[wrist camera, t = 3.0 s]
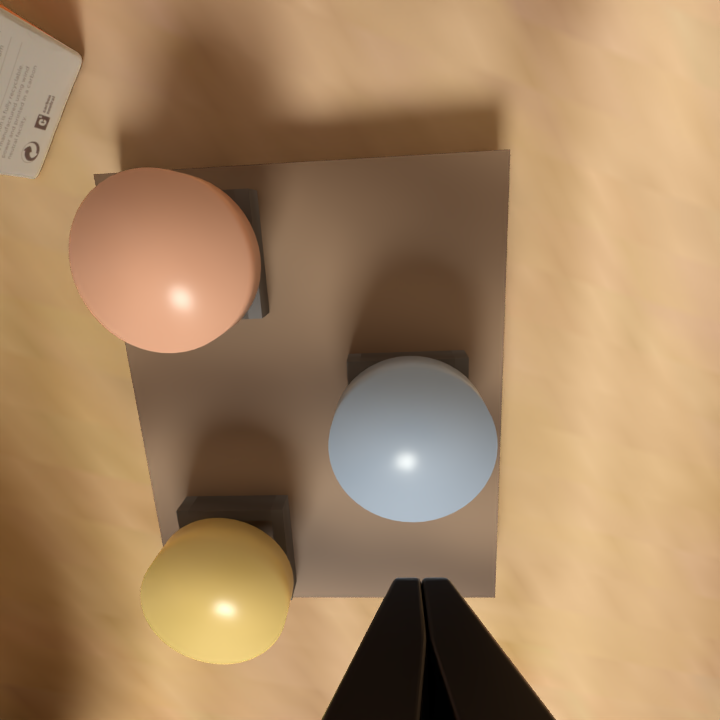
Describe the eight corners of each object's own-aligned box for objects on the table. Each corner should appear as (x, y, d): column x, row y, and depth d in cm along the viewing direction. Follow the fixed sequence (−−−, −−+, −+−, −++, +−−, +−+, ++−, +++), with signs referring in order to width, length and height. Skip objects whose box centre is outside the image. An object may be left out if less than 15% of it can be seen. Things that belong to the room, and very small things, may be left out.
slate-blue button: (480, 479, 15) (495, 521, 13) (340, 481, 15) (333, 522, 13) (483, 344, 14) (500, 365, 12) (331, 349, 14) (322, 371, 12)
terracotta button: (277, 331, 14) (257, 350, 12) (132, 336, 14) (88, 356, 12) (261, 171, 13) (236, 161, 11) (104, 181, 13) (50, 172, 11)
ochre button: (304, 609, 17) (292, 665, 15) (182, 609, 17) (153, 663, 15) (293, 499, 16) (278, 542, 14) (162, 500, 16) (128, 543, 14)
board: (486, 568, 19) (500, 617, 16) (188, 569, 20) (161, 616, 17) (498, 156, 15) (518, 144, 12) (120, 179, 15) (74, 170, 13)
